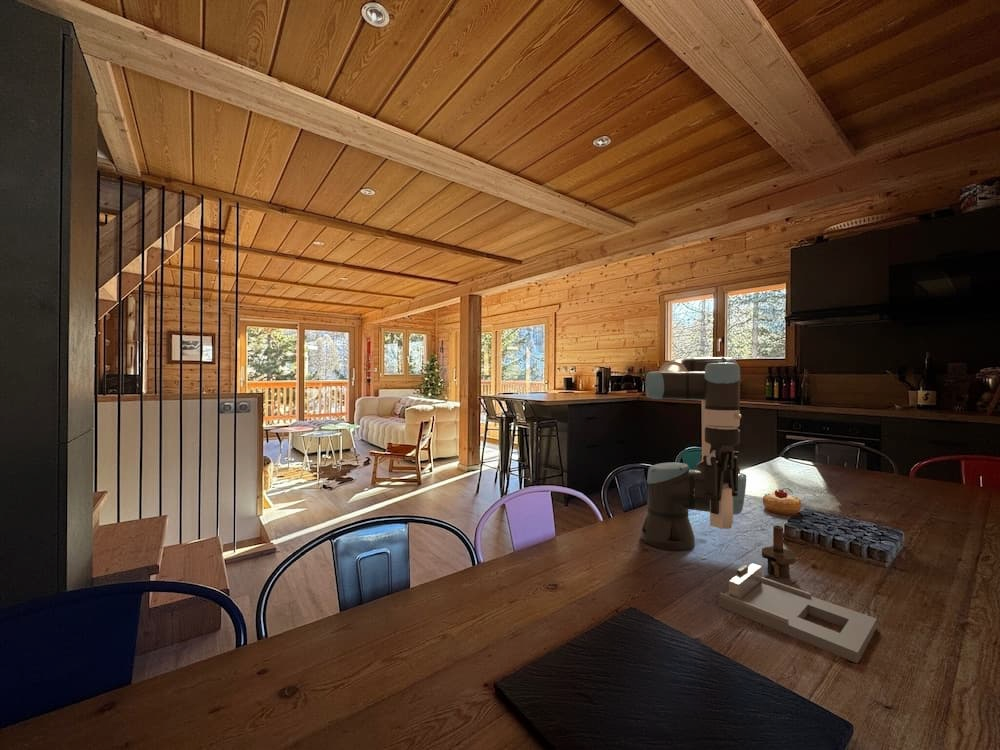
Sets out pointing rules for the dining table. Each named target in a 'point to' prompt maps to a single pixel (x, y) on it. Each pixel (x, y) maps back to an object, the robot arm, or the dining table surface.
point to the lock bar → (745, 580)
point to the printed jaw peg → (727, 506)
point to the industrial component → (778, 555)
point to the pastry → (782, 503)
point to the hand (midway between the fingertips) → (721, 524)
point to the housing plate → (790, 608)
